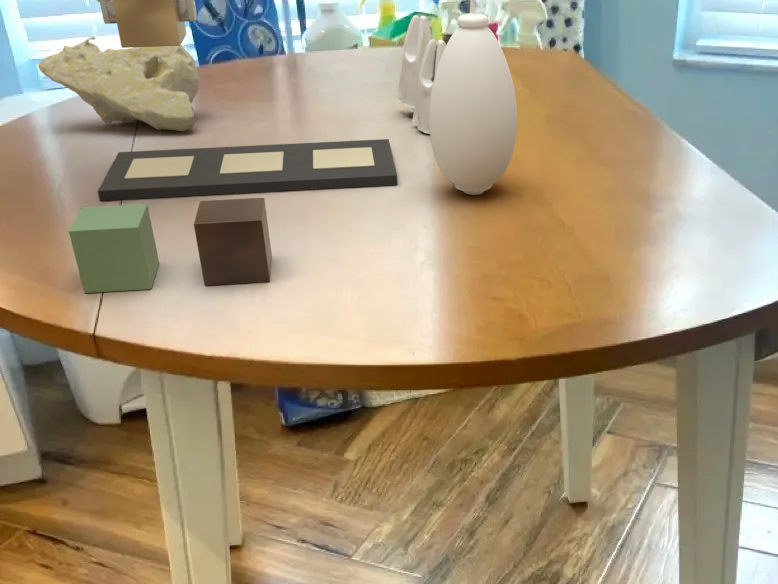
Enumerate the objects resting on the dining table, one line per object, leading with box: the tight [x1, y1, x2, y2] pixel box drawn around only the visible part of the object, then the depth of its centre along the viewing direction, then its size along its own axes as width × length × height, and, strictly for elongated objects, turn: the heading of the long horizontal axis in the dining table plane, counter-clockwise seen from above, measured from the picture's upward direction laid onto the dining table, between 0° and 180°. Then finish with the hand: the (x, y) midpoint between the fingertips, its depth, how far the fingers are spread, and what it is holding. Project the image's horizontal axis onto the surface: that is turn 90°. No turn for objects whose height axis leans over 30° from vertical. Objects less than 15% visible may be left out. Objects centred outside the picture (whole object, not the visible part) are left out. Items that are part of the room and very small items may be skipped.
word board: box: [97, 138, 398, 202], centre depth 96 cm, size 28×12×1 cm, turn 97°
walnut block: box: [193, 197, 273, 287], centre depth 75 cm, size 5×5×5 cm
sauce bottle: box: [429, 0, 518, 196], centre depth 86 cm, size 8×8×18 cm
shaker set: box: [396, 14, 447, 135], centre depth 107 cm, size 12×4×11 cm, turn 18°
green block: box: [68, 203, 160, 294], centre depth 74 cm, size 5×5×5 cm
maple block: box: [113, 0, 187, 49], centre depth 84 cm, size 5×5×5 cm
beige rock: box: [38, 35, 200, 132], centre depth 110 cm, size 15×7×15 cm
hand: (150, 21), depth 84 cm, fingers closed on maple block, 5 cm apart
